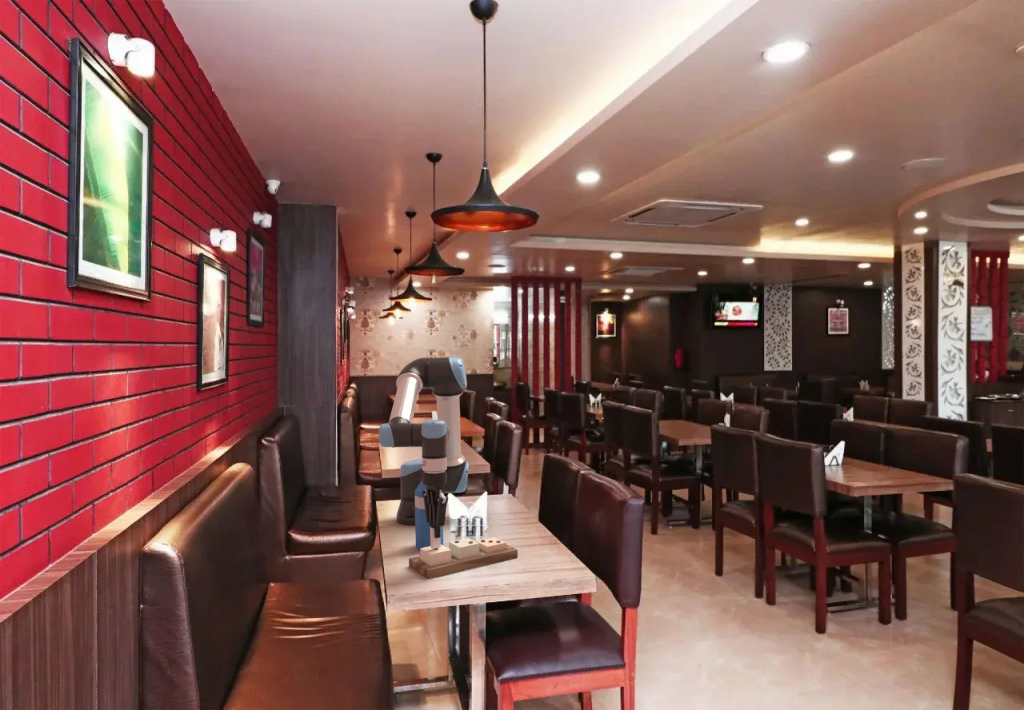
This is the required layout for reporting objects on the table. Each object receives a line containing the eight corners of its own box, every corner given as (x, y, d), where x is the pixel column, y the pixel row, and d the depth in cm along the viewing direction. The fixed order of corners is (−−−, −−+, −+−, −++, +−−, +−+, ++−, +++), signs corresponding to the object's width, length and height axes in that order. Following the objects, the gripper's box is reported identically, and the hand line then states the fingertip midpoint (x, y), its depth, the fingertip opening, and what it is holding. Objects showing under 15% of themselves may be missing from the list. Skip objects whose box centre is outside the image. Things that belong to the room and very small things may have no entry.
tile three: (476, 553, 213) (475, 540, 213) (494, 549, 217) (494, 536, 217) (487, 559, 207) (487, 545, 207) (505, 554, 211) (505, 541, 211)
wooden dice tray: (409, 566, 203) (408, 558, 203) (495, 546, 221) (495, 539, 221) (428, 578, 192) (428, 570, 192) (517, 557, 210) (517, 549, 210)
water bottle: (449, 545, 223) (447, 472, 223) (431, 553, 216) (430, 477, 215) (428, 540, 229) (426, 469, 228) (409, 548, 221) (408, 474, 220)
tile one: (420, 561, 202) (420, 547, 202) (440, 556, 206) (440, 543, 206) (430, 567, 196) (430, 553, 196) (451, 562, 200) (451, 548, 200)
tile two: (449, 554, 208) (448, 540, 207) (468, 550, 212) (467, 536, 211) (460, 560, 202) (459, 546, 202) (479, 555, 206) (479, 542, 206)
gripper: (414, 469, 204) (415, 544, 204) (433, 475, 193) (434, 555, 193) (435, 466, 208) (436, 540, 208) (455, 472, 197) (456, 550, 198)
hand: (435, 547), depth 201 cm, fingers closed
